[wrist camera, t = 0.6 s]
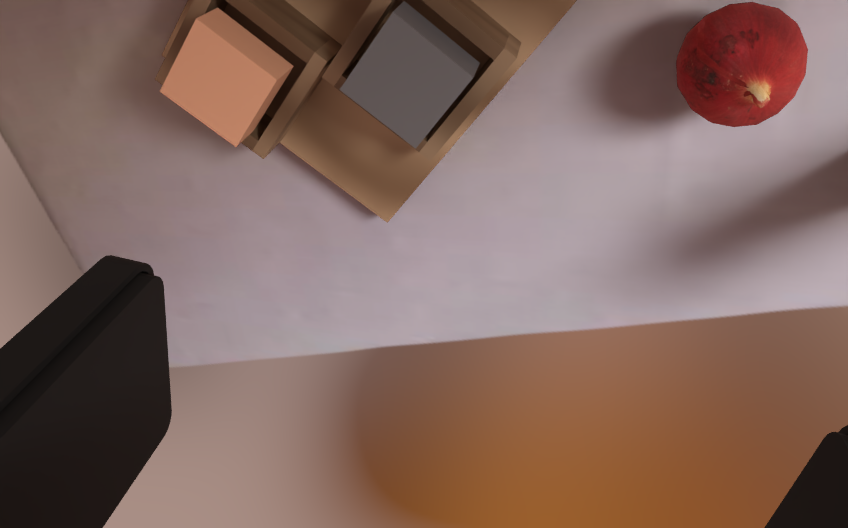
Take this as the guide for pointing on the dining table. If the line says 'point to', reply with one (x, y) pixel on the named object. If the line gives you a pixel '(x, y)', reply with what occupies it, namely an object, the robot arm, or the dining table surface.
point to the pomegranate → (741, 64)
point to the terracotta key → (225, 76)
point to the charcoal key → (410, 75)
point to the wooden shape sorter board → (335, 60)
